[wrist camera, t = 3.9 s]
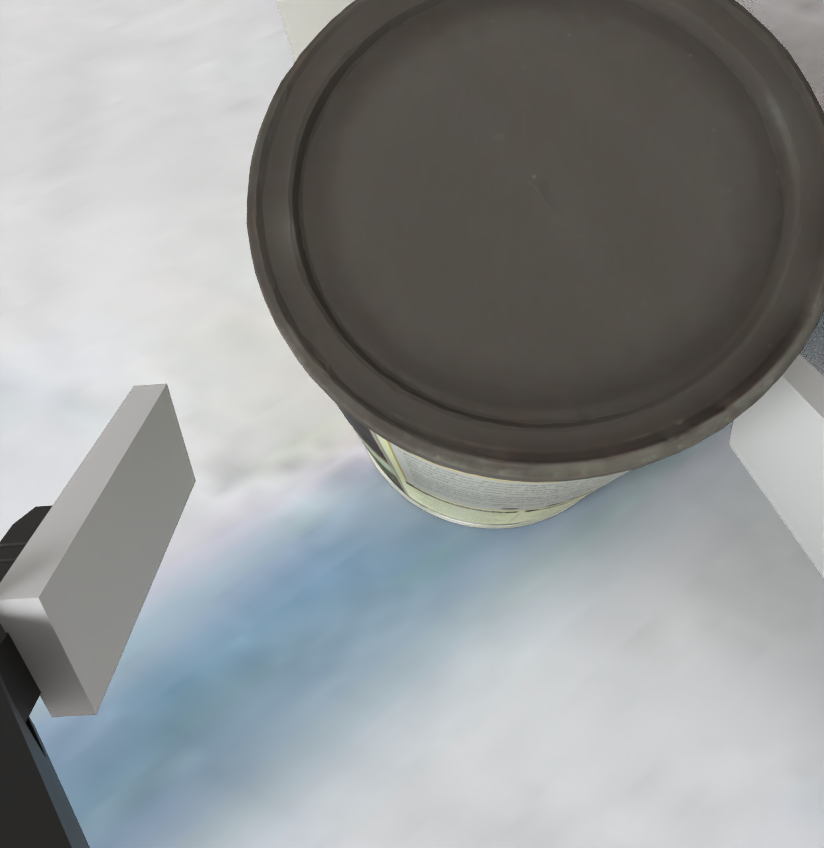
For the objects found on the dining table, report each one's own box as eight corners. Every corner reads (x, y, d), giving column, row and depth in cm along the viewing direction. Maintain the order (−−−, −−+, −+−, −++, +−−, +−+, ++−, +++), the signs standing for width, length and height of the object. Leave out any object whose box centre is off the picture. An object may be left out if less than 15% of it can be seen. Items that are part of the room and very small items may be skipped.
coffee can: (296, 417, 26) (124, 239, 12) (464, 212, 27) (479, -154, 14) (522, 594, 24) (617, 615, 11) (690, 365, 26) (966, 121, 12)
